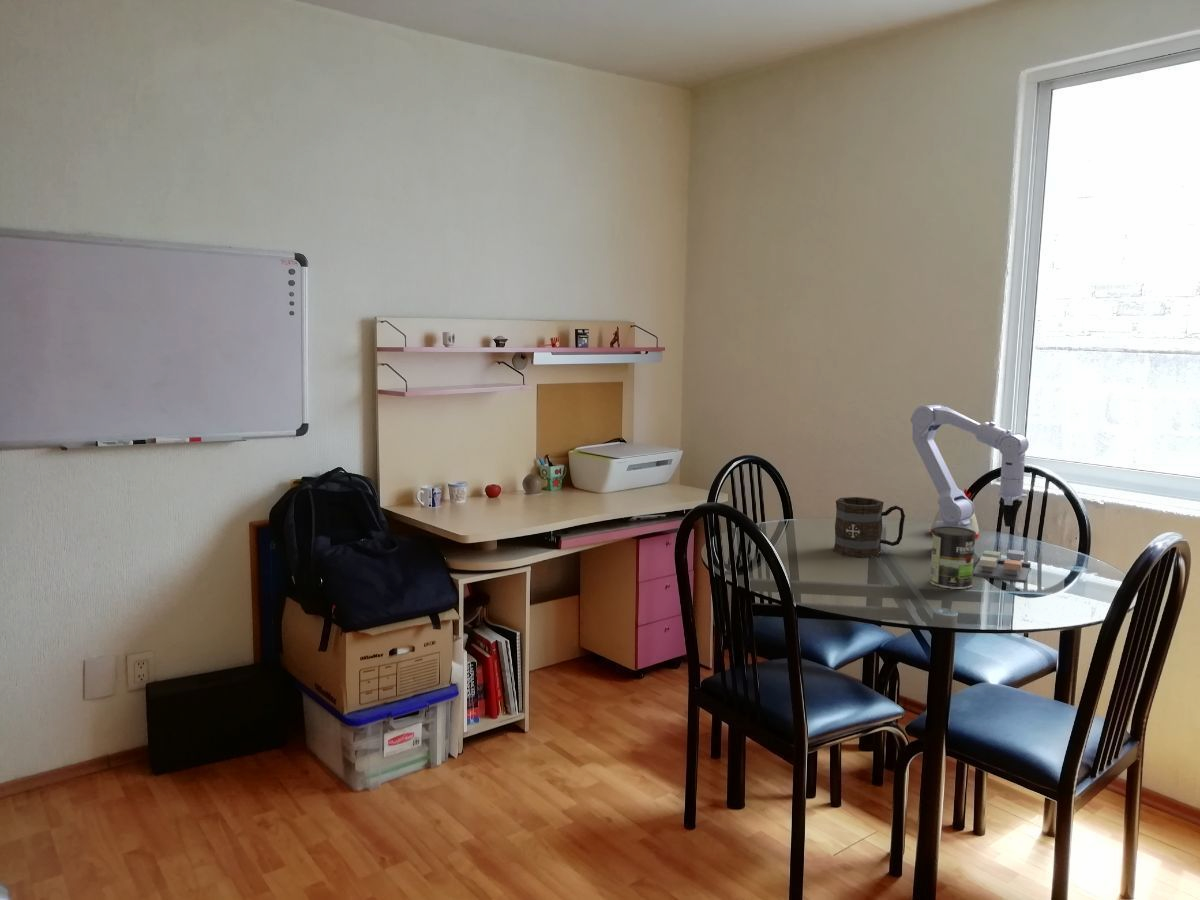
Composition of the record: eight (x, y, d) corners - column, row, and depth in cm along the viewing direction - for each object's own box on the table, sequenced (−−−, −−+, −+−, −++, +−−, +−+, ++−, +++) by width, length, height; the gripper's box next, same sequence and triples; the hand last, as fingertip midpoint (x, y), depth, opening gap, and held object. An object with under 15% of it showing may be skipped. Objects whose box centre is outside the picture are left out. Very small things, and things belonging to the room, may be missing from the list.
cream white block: (982, 564, 247) (983, 553, 247) (984, 561, 251) (984, 550, 250) (998, 566, 245) (998, 555, 245) (999, 563, 249) (1000, 552, 248)
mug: (836, 557, 258) (838, 505, 256) (830, 545, 271) (832, 496, 269) (907, 559, 255) (910, 507, 253) (898, 547, 269) (900, 498, 266)
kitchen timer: (985, 541, 277) (989, 492, 274) (940, 540, 277) (943, 492, 274) (967, 530, 290) (970, 484, 288) (924, 529, 290) (927, 484, 288)
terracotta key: (1003, 574, 238) (1004, 562, 238) (1004, 570, 242) (1005, 559, 241) (1019, 576, 236) (1020, 564, 236) (1021, 572, 240) (1022, 561, 239)
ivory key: (978, 571, 241) (979, 559, 241) (980, 567, 244) (981, 556, 244) (995, 573, 239) (995, 561, 239) (996, 569, 243) (997, 558, 242)
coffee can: (981, 586, 230) (984, 532, 228) (952, 592, 226) (956, 537, 224) (949, 576, 239) (952, 524, 237) (920, 581, 235) (923, 528, 233)
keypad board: (971, 575, 240) (971, 569, 240) (979, 561, 253) (979, 556, 253) (1025, 582, 234) (1025, 576, 234) (1030, 568, 247) (1030, 562, 246)
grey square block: (1006, 564, 244) (1007, 552, 244) (1007, 560, 247) (1008, 549, 247) (1022, 566, 242) (1023, 554, 242) (1024, 562, 245) (1024, 551, 245)
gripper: (1025, 483, 241) (1022, 533, 242) (1030, 475, 253) (1027, 522, 255) (996, 481, 244) (994, 530, 246) (1002, 473, 256) (1000, 520, 258)
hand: (1009, 526), depth 251 cm, fingers closed
